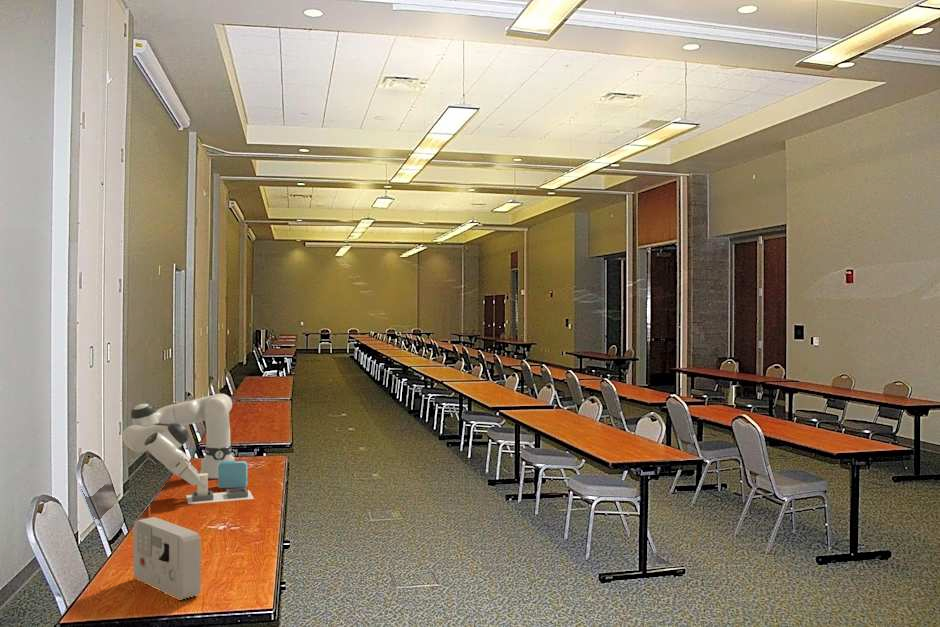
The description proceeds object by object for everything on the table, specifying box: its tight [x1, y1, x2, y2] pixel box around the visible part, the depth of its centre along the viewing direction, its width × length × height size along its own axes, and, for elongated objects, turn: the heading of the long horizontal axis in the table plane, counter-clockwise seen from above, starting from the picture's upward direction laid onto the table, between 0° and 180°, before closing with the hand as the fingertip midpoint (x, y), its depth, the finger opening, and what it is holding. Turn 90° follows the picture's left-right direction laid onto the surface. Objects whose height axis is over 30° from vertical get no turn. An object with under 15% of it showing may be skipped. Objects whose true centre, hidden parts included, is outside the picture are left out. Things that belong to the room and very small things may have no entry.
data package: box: [217, 460, 249, 489], centre depth 345 cm, size 12×4×12 cm, turn 98°
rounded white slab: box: [132, 516, 202, 601], centre depth 222 cm, size 29×8×18 cm, turn 50°
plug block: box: [196, 473, 209, 496], centre depth 323 cm, size 4×4×10 cm
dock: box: [186, 487, 255, 505], centre depth 326 cm, size 16×26×3 cm, turn 113°
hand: (204, 485), depth 323 cm, fingers open, 8 cm apart
